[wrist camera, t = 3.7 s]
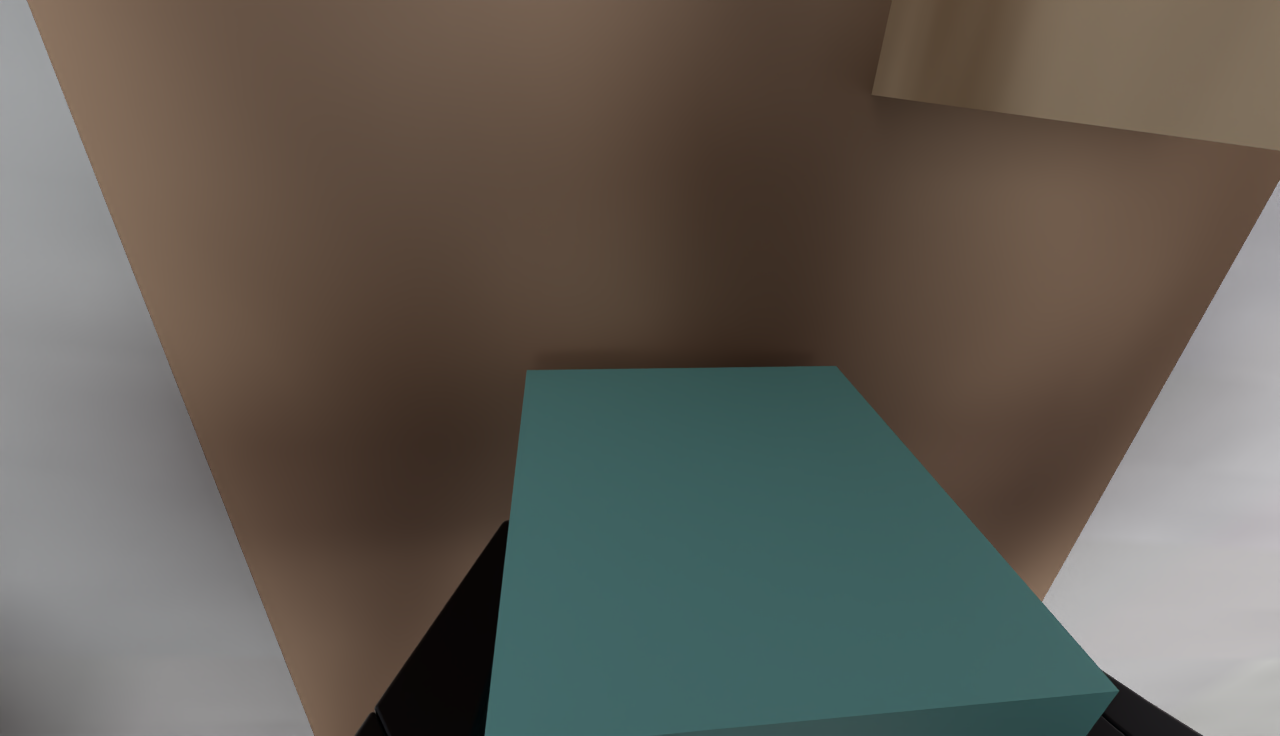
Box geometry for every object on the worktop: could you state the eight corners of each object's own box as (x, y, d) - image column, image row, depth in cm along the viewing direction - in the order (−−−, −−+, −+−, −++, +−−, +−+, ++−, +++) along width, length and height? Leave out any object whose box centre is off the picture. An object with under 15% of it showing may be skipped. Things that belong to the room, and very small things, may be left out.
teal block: (538, 594, 11) (519, 1001, 6) (526, 370, 9) (483, 751, 4) (784, 579, 12) (935, 939, 7) (835, 366, 9) (1119, 690, 5)
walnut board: (364, 782, 17) (351, 830, 16) (-148, -720, 5) (-333, -924, 4) (927, 727, 19) (948, 766, 18) (1495, -405, 7) (1650, -480, 6)
